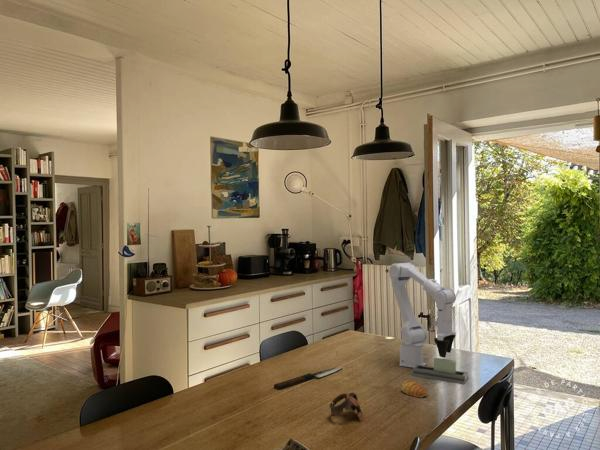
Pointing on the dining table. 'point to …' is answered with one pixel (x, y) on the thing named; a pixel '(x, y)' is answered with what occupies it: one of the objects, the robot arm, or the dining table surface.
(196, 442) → the dining table surface
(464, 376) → the door track
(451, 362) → the door panel
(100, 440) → the dining table surface
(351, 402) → the brown openwork sculpture
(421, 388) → the pastry
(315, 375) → the kitchen knife
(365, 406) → the dining table surface
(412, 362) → the robot arm
